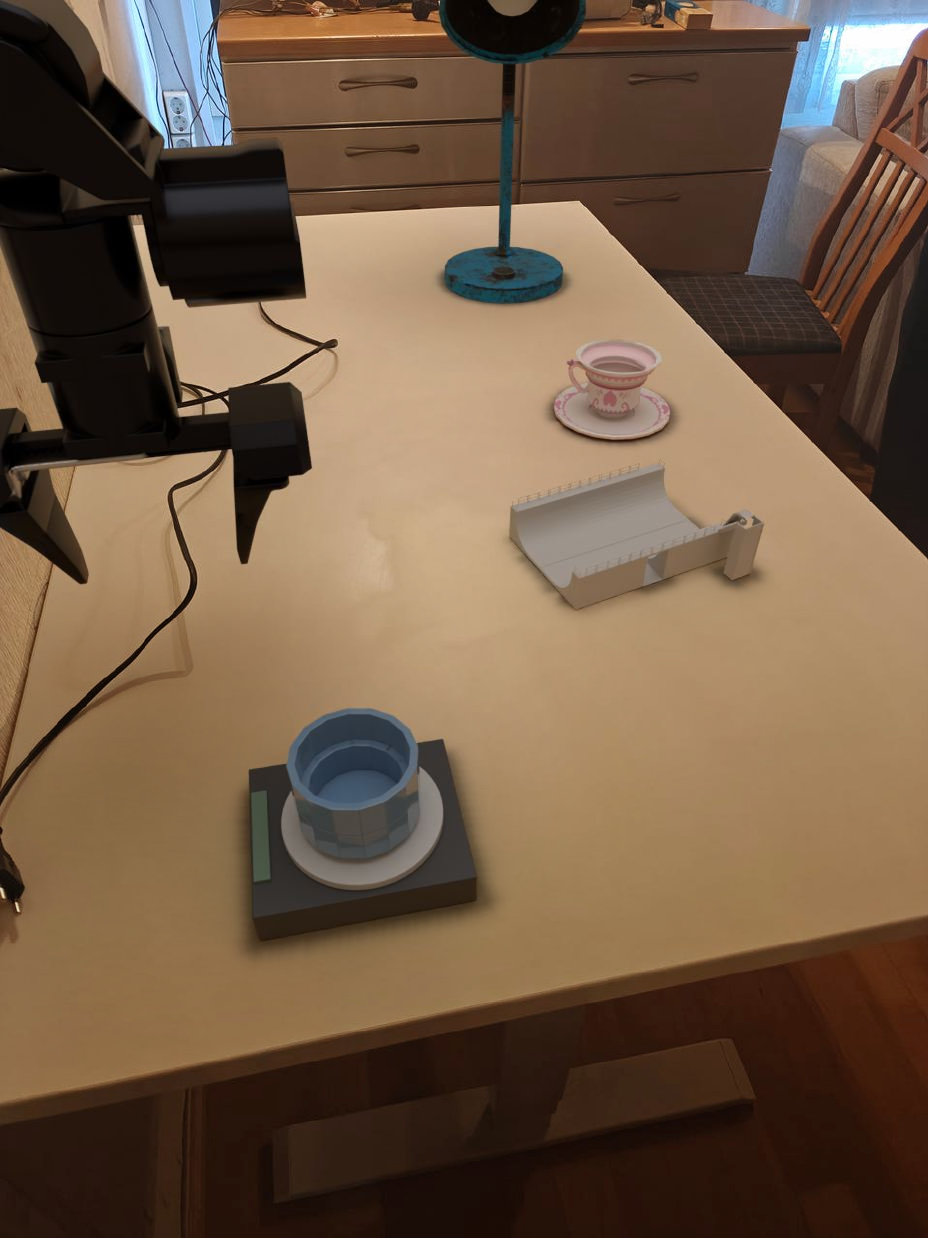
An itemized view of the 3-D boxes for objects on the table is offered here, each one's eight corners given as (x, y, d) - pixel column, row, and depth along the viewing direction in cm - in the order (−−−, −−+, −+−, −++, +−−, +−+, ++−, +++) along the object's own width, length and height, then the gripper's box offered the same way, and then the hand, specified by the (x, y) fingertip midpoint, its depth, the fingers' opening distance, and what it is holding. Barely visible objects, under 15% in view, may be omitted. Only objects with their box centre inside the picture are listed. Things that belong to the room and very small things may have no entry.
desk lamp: (438, 318, 108) (429, -169, 78) (447, 255, 125) (442, -167, 95) (567, 319, 108) (607, -169, 78) (559, 257, 124) (590, -167, 94)
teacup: (664, 388, 94) (673, 333, 90) (674, 444, 86) (685, 386, 81) (553, 383, 95) (557, 329, 91) (552, 439, 86) (557, 381, 82)
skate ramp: (653, 492, 79) (661, 443, 76) (750, 574, 70) (764, 522, 67) (509, 536, 74) (511, 486, 71) (594, 630, 65) (601, 578, 62)
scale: (259, 941, 47) (250, 912, 45) (254, 793, 54) (246, 762, 52) (476, 900, 49) (477, 871, 47) (443, 762, 56) (443, 731, 54)
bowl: (275, 839, 48) (261, 783, 45) (337, 750, 53) (328, 693, 50) (386, 883, 46) (380, 828, 43) (440, 786, 51) (438, 730, 48)
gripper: (280, 241, 49) (313, 479, 59) (-78, 266, 46) (22, 512, 56) (292, 321, 40) (327, 581, 51) (-143, 357, 38) (-12, 625, 48)
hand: (165, 569), depth 52 cm, fingers open, 9 cm apart
